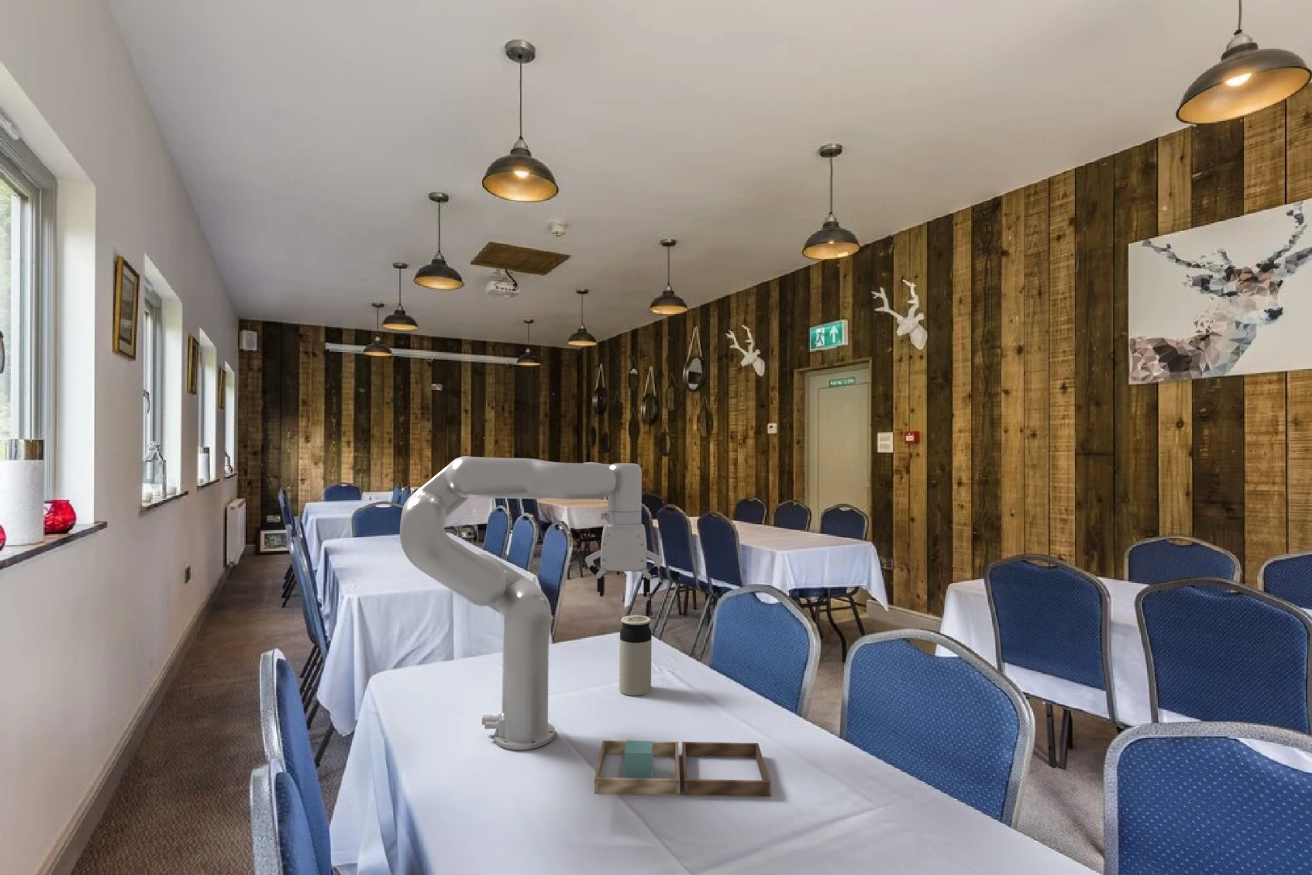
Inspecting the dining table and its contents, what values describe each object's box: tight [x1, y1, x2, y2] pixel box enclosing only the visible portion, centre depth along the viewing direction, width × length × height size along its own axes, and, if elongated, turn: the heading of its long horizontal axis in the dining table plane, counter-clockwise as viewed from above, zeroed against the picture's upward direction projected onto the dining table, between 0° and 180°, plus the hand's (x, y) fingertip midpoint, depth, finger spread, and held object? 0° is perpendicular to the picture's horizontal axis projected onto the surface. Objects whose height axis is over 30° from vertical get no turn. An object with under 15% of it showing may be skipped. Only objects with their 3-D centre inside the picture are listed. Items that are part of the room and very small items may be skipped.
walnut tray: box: [681, 741, 771, 797], centre depth 124 cm, size 15×15×2 cm
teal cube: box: [623, 739, 654, 778], centre depth 125 cm, size 5×5×5 cm
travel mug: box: [618, 614, 653, 697], centre depth 166 cm, size 8×8×18 cm
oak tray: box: [593, 739, 681, 796], centre depth 125 cm, size 15×15×2 cm
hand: (623, 595), depth 147 cm, fingers open, 9 cm apart
